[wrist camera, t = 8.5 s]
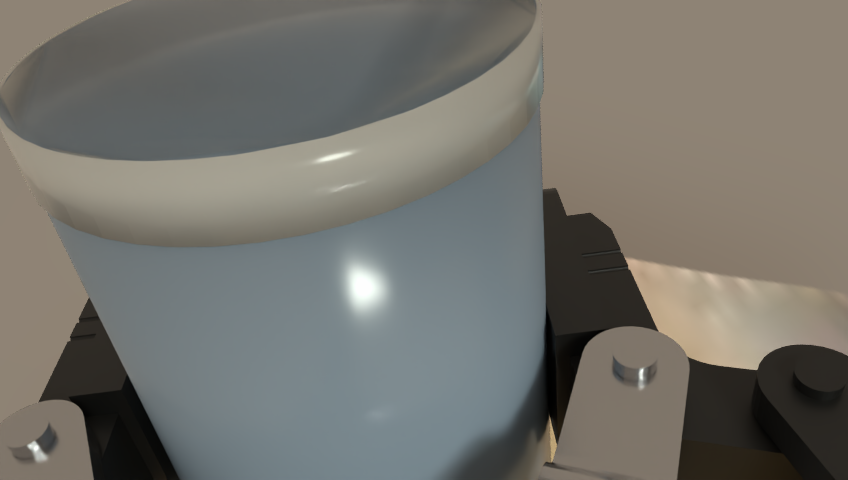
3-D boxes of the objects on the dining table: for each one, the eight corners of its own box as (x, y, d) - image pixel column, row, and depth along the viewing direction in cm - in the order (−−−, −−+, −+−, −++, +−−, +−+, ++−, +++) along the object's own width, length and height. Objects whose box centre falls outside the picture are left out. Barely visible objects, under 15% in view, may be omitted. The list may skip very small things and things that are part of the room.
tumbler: (449, 448, 18) (370, -70, 11) (621, 640, 14) (666, 11, 7) (231, 583, 16) (-37, 43, 9) (360, 859, 12) (51, 256, 5)
